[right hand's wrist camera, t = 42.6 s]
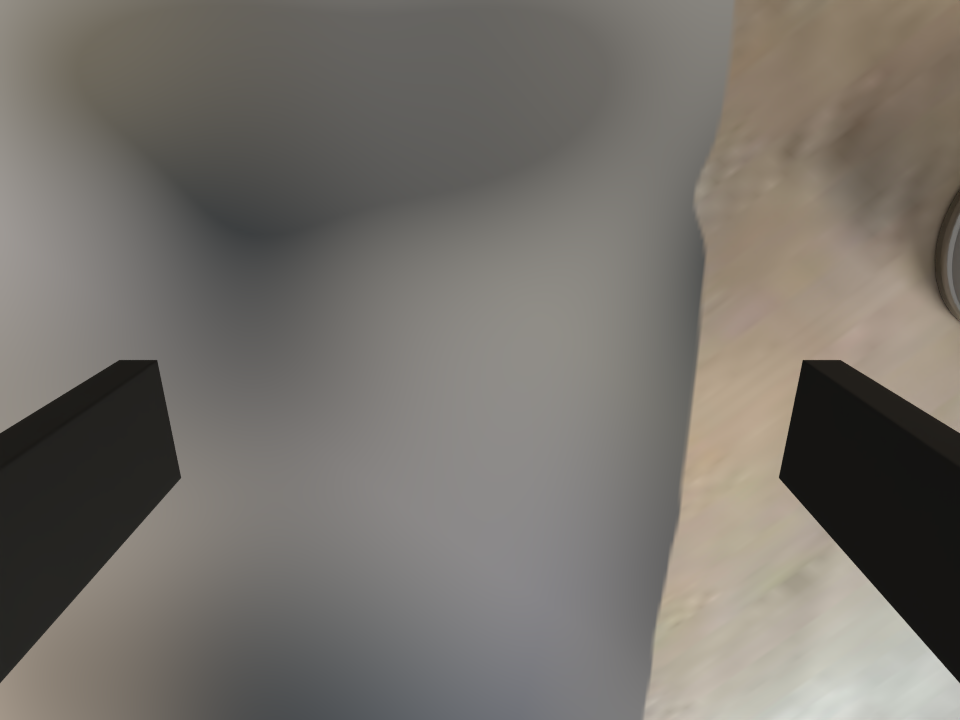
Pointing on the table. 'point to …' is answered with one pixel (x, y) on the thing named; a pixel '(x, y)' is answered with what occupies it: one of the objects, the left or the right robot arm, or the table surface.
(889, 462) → the right robot arm
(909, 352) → the table surface
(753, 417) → the table surface
